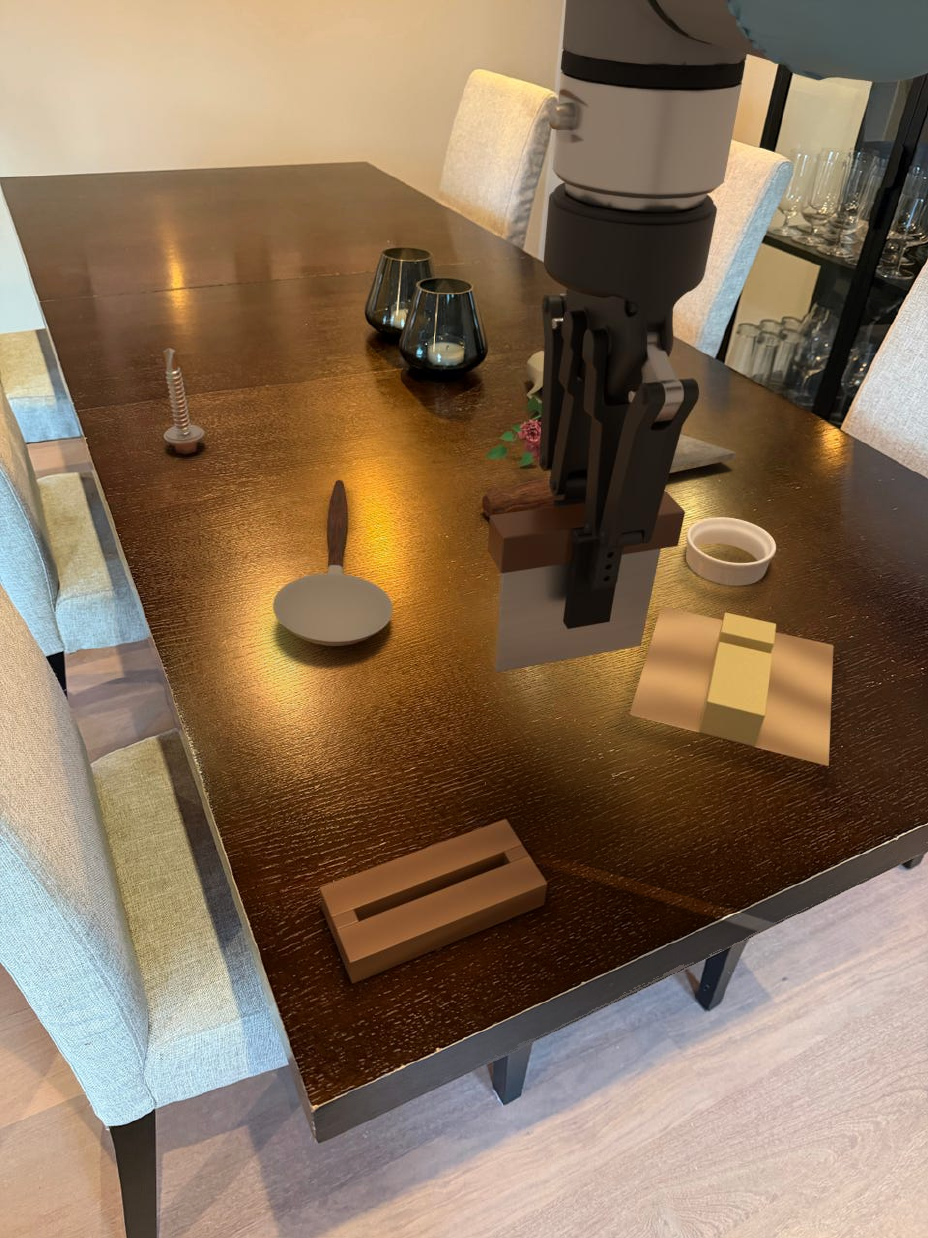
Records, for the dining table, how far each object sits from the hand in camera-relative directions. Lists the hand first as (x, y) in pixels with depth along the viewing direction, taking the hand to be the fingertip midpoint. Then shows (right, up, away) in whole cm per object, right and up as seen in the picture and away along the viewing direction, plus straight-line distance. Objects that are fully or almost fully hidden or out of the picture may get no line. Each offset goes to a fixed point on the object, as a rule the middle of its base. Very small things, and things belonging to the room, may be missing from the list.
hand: (576, 605), depth 54 cm
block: (-9, -20, +7) cm, 23 cm away
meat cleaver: (+9, +16, +55) cm, 58 cm away
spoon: (-20, +5, +38) cm, 44 cm away
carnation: (+4, +35, +74) cm, 82 cm away
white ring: (+20, +4, +39) cm, 44 cm away
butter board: (+17, -7, +25) cm, 31 cm away
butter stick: (+16, -8, +21) cm, 28 cm away
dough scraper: (0, -3, +3) cm, 4 cm away
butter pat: (+18, -4, +26) cm, 32 cm away
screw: (-41, +20, +57) cm, 73 cm away
